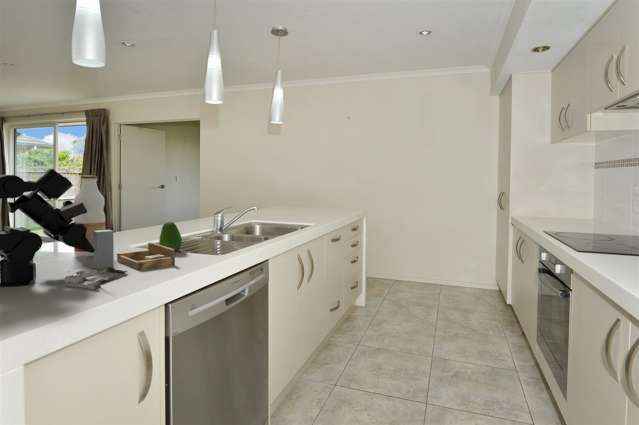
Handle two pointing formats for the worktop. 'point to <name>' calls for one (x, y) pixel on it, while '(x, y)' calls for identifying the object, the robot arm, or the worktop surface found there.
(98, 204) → the fruit juice
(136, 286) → the worktop surface
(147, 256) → the offcut
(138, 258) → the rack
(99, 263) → the grey rectangular block
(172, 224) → the avocado
